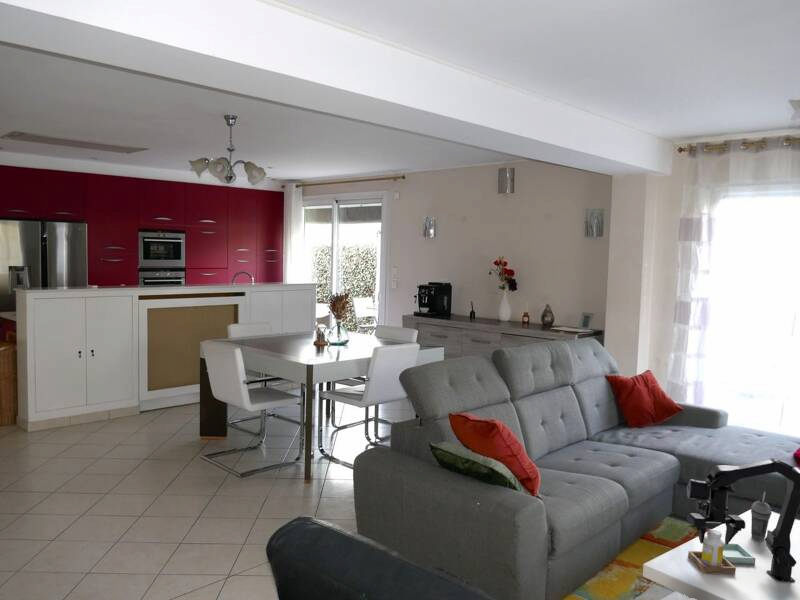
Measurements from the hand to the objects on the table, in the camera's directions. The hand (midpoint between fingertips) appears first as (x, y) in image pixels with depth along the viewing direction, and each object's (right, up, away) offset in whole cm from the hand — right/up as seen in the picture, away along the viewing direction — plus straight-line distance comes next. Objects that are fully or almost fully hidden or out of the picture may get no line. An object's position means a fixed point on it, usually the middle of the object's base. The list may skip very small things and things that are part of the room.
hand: (713, 543), depth 230 cm
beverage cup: (+31, -8, +26) cm, 41 cm away
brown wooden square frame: (-1, -8, +1) cm, 8 cm away
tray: (+11, -8, +9) cm, 17 cm away
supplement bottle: (-1, -9, +1) cm, 9 cm away
